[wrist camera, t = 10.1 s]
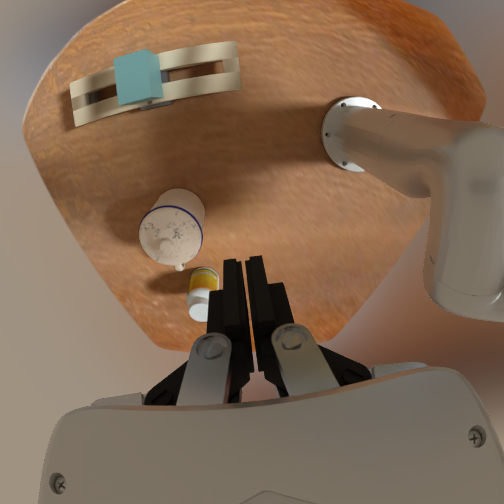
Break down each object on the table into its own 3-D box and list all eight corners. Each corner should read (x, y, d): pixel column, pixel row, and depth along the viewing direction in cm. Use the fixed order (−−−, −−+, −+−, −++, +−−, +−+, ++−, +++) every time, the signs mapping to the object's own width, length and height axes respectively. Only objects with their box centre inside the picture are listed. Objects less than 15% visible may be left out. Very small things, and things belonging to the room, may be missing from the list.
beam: (235, 45, 31) (236, 37, 27) (240, 94, 35) (242, 92, 31) (84, 81, 31) (68, 80, 26) (90, 126, 35) (75, 130, 30)
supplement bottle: (221, 286, 52) (221, 322, 44) (194, 291, 52) (190, 327, 44) (215, 263, 50) (213, 298, 41) (186, 268, 50) (180, 303, 41)
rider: (161, 58, 29) (146, 49, 22) (166, 97, 32) (151, 96, 25) (134, 65, 29) (113, 58, 22) (139, 104, 32) (118, 105, 25)
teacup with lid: (149, 189, 41) (125, 218, 32) (204, 184, 42) (196, 212, 32) (160, 253, 48) (145, 294, 38) (210, 250, 48) (206, 292, 38)
